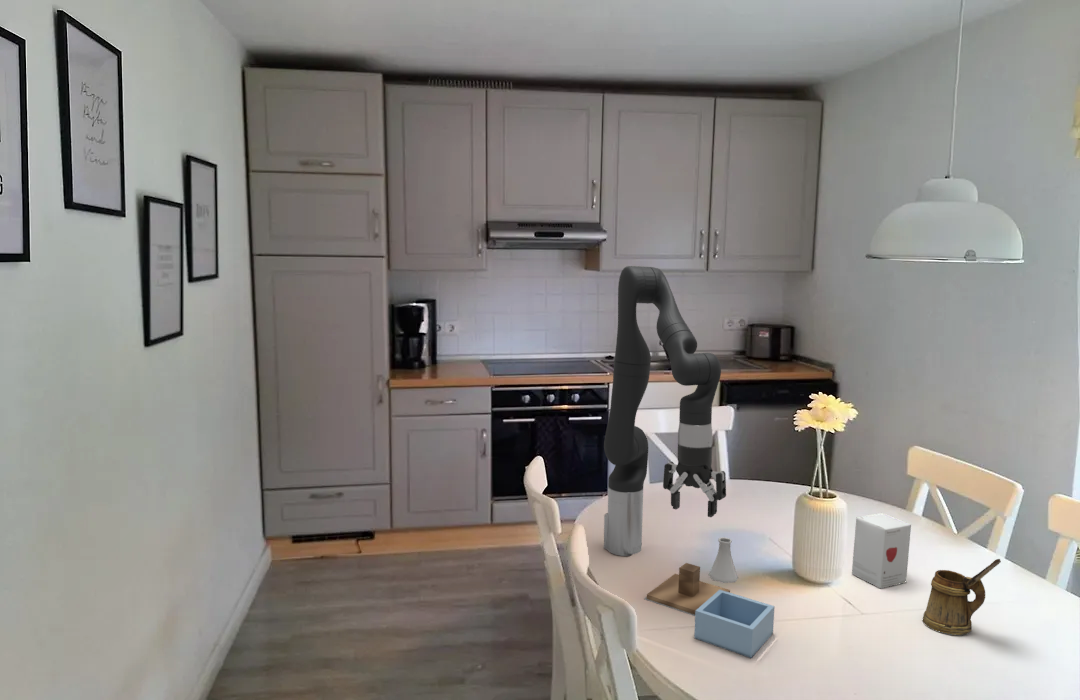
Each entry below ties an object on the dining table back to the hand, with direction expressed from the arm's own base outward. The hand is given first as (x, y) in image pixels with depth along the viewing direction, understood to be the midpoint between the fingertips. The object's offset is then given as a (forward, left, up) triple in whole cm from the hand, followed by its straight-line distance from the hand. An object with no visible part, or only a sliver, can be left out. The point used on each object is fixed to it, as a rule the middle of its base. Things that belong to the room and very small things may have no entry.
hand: (693, 512), depth 163 cm
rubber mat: (0, 0, -21) cm, 21 cm away
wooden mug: (+51, +23, -21) cm, 59 cm away
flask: (+2, +15, -21) cm, 26 cm away
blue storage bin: (+15, -10, -21) cm, 27 cm away
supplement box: (+32, +39, -21) cm, 54 cm away
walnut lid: (0, 0, -20) cm, 20 cm away
